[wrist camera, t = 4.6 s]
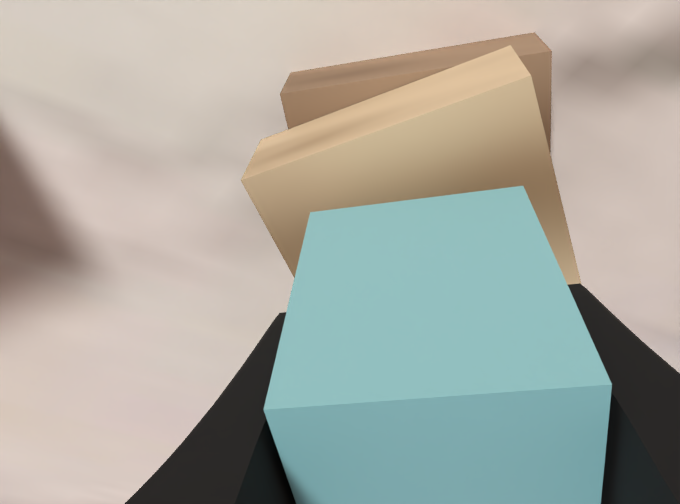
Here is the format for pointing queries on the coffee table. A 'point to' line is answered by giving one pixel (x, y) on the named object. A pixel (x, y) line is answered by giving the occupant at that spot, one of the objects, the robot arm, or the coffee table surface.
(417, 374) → the teal block
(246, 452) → the robot arm
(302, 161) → the oak slab
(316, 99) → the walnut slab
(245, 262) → the coffee table surface
